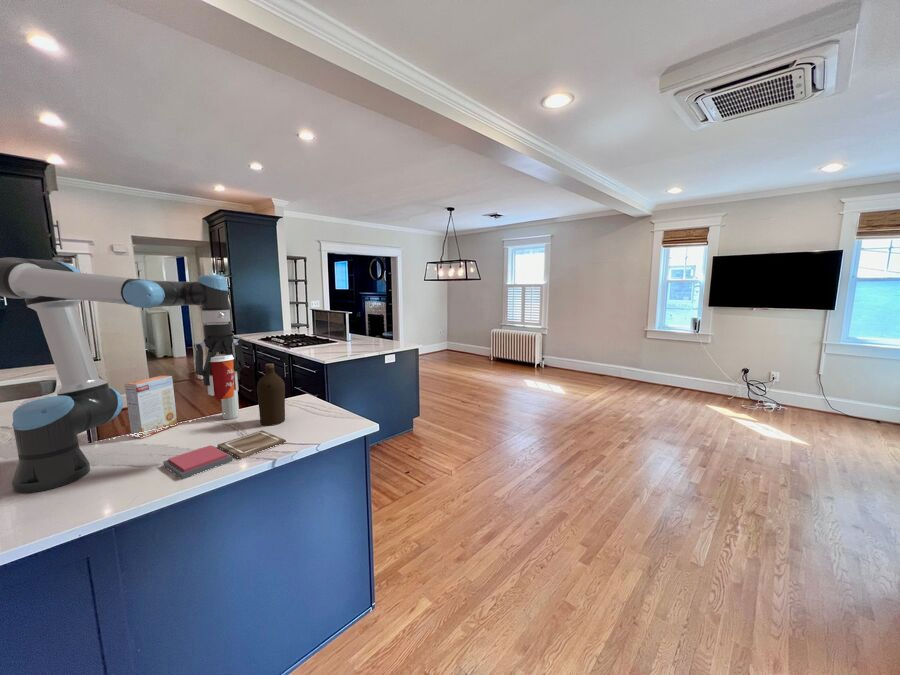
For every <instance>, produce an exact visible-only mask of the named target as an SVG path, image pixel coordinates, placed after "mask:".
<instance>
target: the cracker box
mask: <svg viewBox="0 0 900 675" xmlns="http://www.w3.org/2000/svg"><path fill="white" fill-rule="evenodd" d="M124 391H125V397H126V406H127V411H128V422H129V428H130V435H131V434H134V433H139V432H144V431H148V430H152V429H157V430H161V429H159V428H162V429H165V428H163V427H166V426H170V425H175V424H177V425H178V419H177V408H176V402H175V401H176V400H175V392H174V391H175V390H174V382H173V376H172V375H158V376H154V377H148V378H145V379H141V380H137V381H133V382H127V383H125V384H124ZM175 426H176V425H175ZM173 427H174V426H171V427H168V429H170V428H173ZM157 430H152V431H148V432H144V433H145V434H143V433H139V434H142V435H139V436H140V437H143V436H146V435H149V434H152V435H155V434H157ZM165 430H166V429H165ZM155 431H156V432H155ZM163 431H164V430H162V431H158V433H161V432H163ZM154 433H155V434H154ZM135 435H137V434H135Z"/></svg>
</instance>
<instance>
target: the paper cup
mask: <svg viewBox="0 0 900 675" xmlns="http://www.w3.org/2000/svg"><path fill="white" fill-rule="evenodd" d="M233 355H234V354H233ZM233 355H226V354H225V353H221V354H219V353H218V354H216V355H215V357H211V361H210V362H211V367H212V368H211V371H210V375H212V376H213V386H214V396H213V399H214V400H221V399H227V398H231V397H233V396H234V368H233V359H234V358H233Z"/></svg>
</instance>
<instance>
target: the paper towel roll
mask: <svg viewBox="0 0 900 675" xmlns="http://www.w3.org/2000/svg"><path fill="white" fill-rule="evenodd" d="M238 392H239V390H237V391H236V390H234V396H233V397H231V398H227V399H220V400H221V414H222V419H224V420H233V419H235V418H238V417H239V416H240V408H239V407H240V406H239V405H240V404H239V394H238ZM224 413H225V414H224Z"/></svg>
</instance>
